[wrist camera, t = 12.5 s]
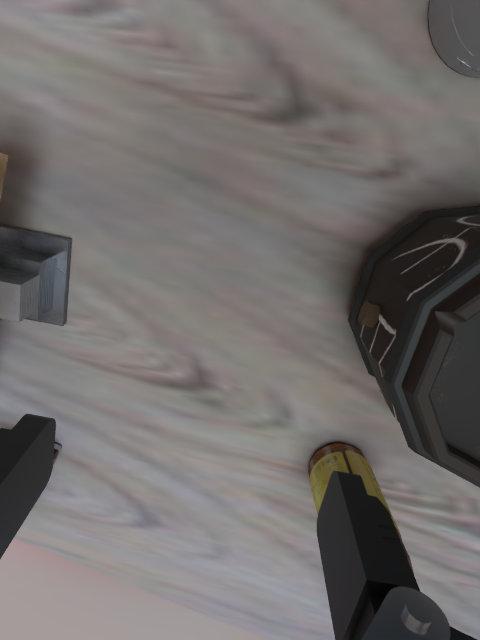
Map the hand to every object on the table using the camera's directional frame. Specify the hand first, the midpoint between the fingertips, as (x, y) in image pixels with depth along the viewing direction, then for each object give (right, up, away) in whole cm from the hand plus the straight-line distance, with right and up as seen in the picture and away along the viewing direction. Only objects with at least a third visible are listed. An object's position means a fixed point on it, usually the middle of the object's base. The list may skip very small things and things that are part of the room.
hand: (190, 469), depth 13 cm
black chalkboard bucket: (+19, +6, +28) cm, 34 cm away
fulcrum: (-20, +9, +27) cm, 35 cm away
